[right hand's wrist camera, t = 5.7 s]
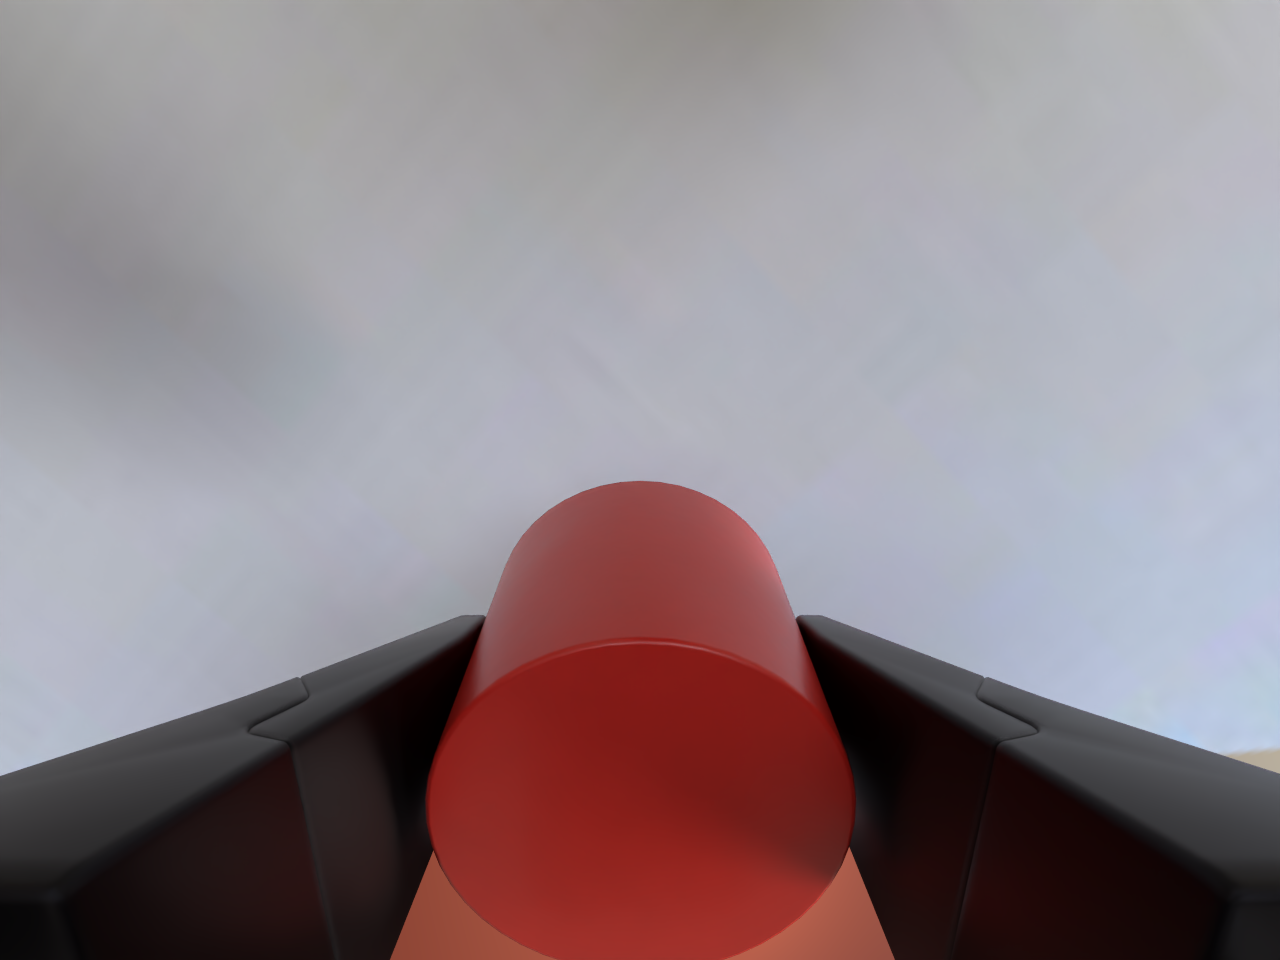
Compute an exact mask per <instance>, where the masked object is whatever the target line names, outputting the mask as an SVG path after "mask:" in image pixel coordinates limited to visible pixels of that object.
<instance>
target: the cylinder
mask: <svg viewBox="0 0 1280 960" xmlns="http://www.w3.org/2000/svg"><path fill="white" fill-rule="evenodd" d="M425 806H426V822H427V827H428V831H429V836H430V840H431V845H432V848H433V850H434V853H435V855H436V858H437V860H438V863H439V865H440V867H441V869H442V870H443V872H444V874H445V876H446V877H447V879H448V881H449V882H450V884H451V885H452V887H453V888H454V889H455V890H456V892H457V893H458V894H459V895H460V897H461V898H462V899H463V901H464V902H465V903H466V904H467V905H468V906H469V907H470V908H471V909H472V910H473V911H474V912H475V913H477V914H478V915H479V916H480V917H481V918H482V919H483V920H484V921H486V922H487V923H488V924H490V925H491V926H492V927H494V928H495V929H496V930H498V931H499V932H501V933H502V934H504V935H506V936H507V937H509V938H511V939H512V940H514V941H516V942H517V943H519V944H521V945H523V946H525V947H527V948H530V949H532V950H534V951H536V952H539V953H541V954H543V955H546V956H549V957H552V958H555V959H558V960H723V959H726V958H729V957H732V956H735V955H738V954H740V953H743V952H745V951H747V950H749V949H751V948H754V947H756V946H758V945H760V944H762V943H764V942H765V941H767V940H769V939H770V938H772V937H774V936H775V935H777V934H779V933H781V932H782V931H783V930H785V929H786V928H787V927H789V926H790V925H791V924H793V923H794V922H795V921H797V920H798V919H799V918H800V917H801V916H803V915H804V914H805V913H806V912H807V911H808V910H809V909H810V908H811V907H812V906H813V905H814V904H815V903H816V902H817V901H818V899H819V898H820V897H821V896H822V894H823V893H824V892H825V891H826V889H827V888H828V887H829V886H830V884H831V883H832V881H833V879H834V878H835V876H836V874H837V872H838V871H839V869H840V867H841V866H842V863H843V861H844V858H845V856H846V853H847V851H848V848H849V846H850V842H851V837H852V833H853V828H854V824H855V812H856V793H855V784H854V776H853V773H852V769H851V766H850V763H849V759H848V756H847V753H846V750H845V748H844V745H843V743H842V740H841V737H840V735H839V732H838V729H837V727H836V724H835V722H834V719H833V716H832V714H831V711H830V708H829V706H828V703H827V701H826V698H825V695H824V693H823V690H822V687H821V685H820V682H819V680H818V677H817V674H816V672H815V669H814V666H813V664H812V661H811V659H810V656H809V653H808V651H807V648H806V645H805V643H804V640H803V638H802V635H801V632H800V630H799V627H798V624H797V622H796V619H795V617H794V614H793V611H792V609H791V606H790V603H789V601H788V598H787V596H786V593H785V590H784V588H783V585H782V582H781V580H780V577H779V575H778V572H777V569H776V567H775V564H774V562H773V560H772V558H771V556H770V554H769V552H768V550H767V548H766V547H765V545H764V544H763V542H762V541H761V539H760V538H759V536H758V535H757V534H756V533H755V531H754V530H753V529H752V528H751V527H750V526H749V525H748V524H747V523H746V522H745V521H744V520H743V519H742V518H741V517H739V516H738V515H737V514H736V513H735V512H733V511H732V510H731V509H729V508H728V507H726V506H725V505H723V504H721V503H720V502H718V501H717V500H715V499H713V498H711V497H709V496H706V495H704V494H702V493H700V492H698V491H694V490H691V489H688V488H685V487H682V486H678V485H673V484H667V483H662V482H649V481H632V482H619V483H613V484H608V485H603V486H599V487H596V488H593V489H590V490H586V491H583V492H581V493H579V494H577V495H574V496H572V497H570V498H568V499H566V500H564V501H562V502H561V503H559V504H558V505H556V506H555V507H553V508H551V509H550V510H548V511H547V512H546V513H545V514H544V515H542V516H541V517H540V518H539V519H538V520H537V521H535V522H534V523H533V525H532V526H531V527H530V528H529V529H528V530H527V531H526V532H525V533H524V535H523V536H522V537H521V539H520V540H519V542H518V543H517V545H516V546H515V548H514V549H513V551H512V553H511V555H510V557H509V559H508V561H507V564H506V566H505V568H504V571H503V574H502V576H501V579H500V582H499V584H498V587H497V590H496V592H495V595H494V598H493V600H492V603H491V606H490V608H489V611H488V614H487V616H486V619H485V622H484V624H483V627H482V630H481V632H480V635H479V637H478V640H477V643H476V645H475V648H474V651H473V653H472V656H471V659H470V661H469V664H468V667H467V669H466V672H465V675H464V677H463V680H462V683H461V685H460V688H459V691H458V693H457V696H456V699H455V701H454V704H453V707H452V709H451V712H450V714H449V717H448V720H447V722H446V725H445V728H444V730H443V733H442V736H441V738H440V741H439V744H438V746H437V749H436V752H435V754H434V757H433V761H432V764H431V768H430V771H429V774H428V779H427V788H426V796H425Z"/></svg>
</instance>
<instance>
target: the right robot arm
mask: <svg viewBox="0 0 1280 960" xmlns="http://www.w3.org/2000/svg"><path fill="white" fill-rule="evenodd" d="M485 619H486V617H485V616H484V615H463V616H459V617H456V618H454V619H451V620H449V621H446V622H443V623H441V624H438V625H435V626H433V627H430V628H427V629H425V630H422V631H420V632H417V633H414V634H412V635H409V636H406V637H404V638H401V639H399V640H396V641H393V642H391V643H388V644H385V645H383V646H380V647H378V648H375V649H372V650H370V651H367V652H364V653H362V654H359V655H356V656H354V657H351V658H349V659H346V660H343V661H341V662H338V663H335V664H333V665H330V666H328V667H325V668H322V669H320V670H317V671H314V672H312V673H309V674H306V675H304V676H302V677H301V678H299V677H296V678H293V679H291V680H288V681H285V682H283V683H280V684H278V685H275V686H272V687H269V688H266V689H264V690H261V691H258V692H255V693H253V694H250V695H247V696H244V697H241V698H239V699H236V700H233V701H230V702H227V703H224V704H221V705H218V706H215V707H212V708H209V709H206V710H203V711H200V712H197V713H194V714H191V715H187V716H184V717H181V718H178V719H175V720H172V721H169V722H166V723H163V724H160V725H157V726H154V727H150V728H147V729H144V730H141V731H138V732H135V733H132V734H129V735H126V736H123V737H120V738H116V739H113V740H110V741H107V742H104V743H101V744H98V745H95V746H92V747H89V748H86V749H82V750H79V751H76V752H73V753H70V754H67V755H64V756H61V757H58V758H55V759H52V760H48V761H45V762H42V763H39V764H36V765H33V766H30V767H27V768H24V769H21V770H18V771H14V772H11V773H8V774H5V775H2V776H0V960H390V958H391V955H392V953H393V950H394V948H395V945H396V943H397V940H398V938H399V935H400V933H401V930H402V928H403V925H404V922H405V920H406V917H407V915H408V913H409V910H410V908H411V905H412V902H413V900H414V898H415V895H416V893H417V890H418V888H419V885H420V882H421V880H422V877H423V875H424V872H425V870H426V867H427V865H428V862H429V860H430V857H431V855H432V852H433V848H432V845H431V840H430V836H429V831H428V827H427V822H426V806H425V796H426V788H427V779H428V774H429V771H430V768H431V764H432V761H433V757H434V754H435V752H436V749H437V746H438V744H439V741H440V738H441V736H442V733H443V730H444V728H445V725H446V722H447V720H448V717H449V714H450V712H451V709H452V707H453V704H454V701H455V699H456V696H457V693H458V691H459V688H460V685H461V683H462V680H463V677H464V675H465V672H466V669H467V667H468V664H469V661H470V659H471V656H472V653H473V651H474V648H475V645H476V643H477V640H478V637H479V635H480V632H481V630H482V627H483V624H484V622H485ZM796 622H797V624H798V627H799V630H800V632H801V635H802V638H803V640H804V643H805V645H806V648H807V651H808V653H809V656H810V659H811V661H812V664H813V666H814V669H815V672H816V674H817V677H818V680H819V682H820V685H821V687H822V690H823V693H824V695H825V698H826V701H827V703H828V706H829V708H830V711H831V714H832V716H833V719H834V722H835V724H836V727H837V729H838V732H839V735H840V737H841V740H842V743H843V745H844V748H845V750H846V753H847V756H848V759H849V763H850V766H851V769H852V773H853V776H854V784H855V793H856V812H855V824H854V828H853V833H852V837H851V842H850V846H849V847H850V849H851V852H852V854H853V857H854V859H855V862H856V864H857V867H858V869H859V872H860V874H861V877H862V879H863V882H864V884H865V887H866V889H867V892H868V894H869V896H870V899H871V901H872V904H873V906H874V909H875V911H876V914H877V916H878V919H879V921H880V924H881V926H882V929H883V931H884V934H885V936H886V939H887V941H888V944H889V946H890V949H891V951H892V953H893V956H894V958H895V960H1280V774H1279V773H1276V772H1273V771H1269V770H1266V769H1263V768H1260V767H1257V766H1254V765H1251V764H1248V763H1245V762H1241V761H1238V760H1235V759H1232V758H1229V757H1226V756H1223V755H1220V754H1217V753H1213V752H1210V751H1207V750H1204V749H1201V748H1198V747H1195V746H1192V745H1189V744H1185V743H1182V742H1179V741H1176V740H1173V739H1170V738H1167V737H1164V736H1161V735H1157V734H1154V733H1151V732H1148V731H1145V730H1142V729H1139V728H1136V727H1133V726H1129V725H1126V724H1123V723H1120V722H1117V721H1114V720H1111V719H1108V718H1104V717H1101V716H1098V715H1095V714H1092V713H1089V712H1086V711H1083V710H1080V709H1077V708H1074V707H1071V706H1068V705H1065V704H1062V703H1059V702H1056V701H1053V700H1050V699H1047V698H1044V697H1041V696H1038V695H1035V694H1033V693H1030V692H1027V691H1024V690H1021V689H1019V688H1016V687H1013V686H1010V685H1008V684H1005V683H1002V682H1000V681H997V680H994V679H992V678H989V677H986V678H985V679H984V677H983V676H981V675H978V674H976V673H973V672H970V671H968V670H965V669H962V668H960V667H957V666H954V665H952V664H949V663H946V662H944V661H941V660H938V659H936V658H933V657H931V656H928V655H925V654H923V653H920V652H917V651H915V650H912V649H909V648H907V647H904V646H901V645H899V644H896V643H893V642H891V641H888V640H885V639H883V638H880V637H877V636H875V635H872V634H869V633H867V632H864V631H862V630H859V629H856V628H854V627H851V626H848V625H846V624H843V623H840V622H838V621H835V620H832V619H830V618H827V617H824V616H820V615H799V616H798V617H797V618H796Z"/></svg>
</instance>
